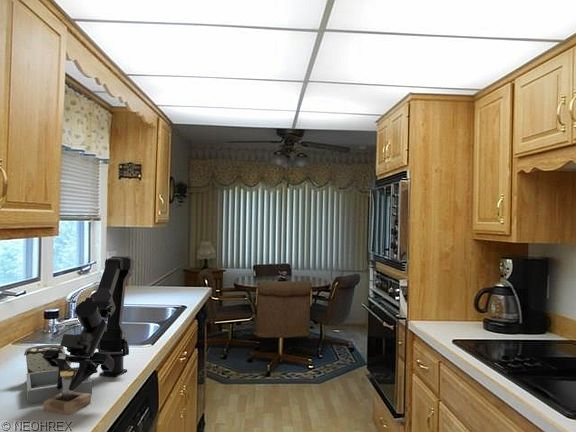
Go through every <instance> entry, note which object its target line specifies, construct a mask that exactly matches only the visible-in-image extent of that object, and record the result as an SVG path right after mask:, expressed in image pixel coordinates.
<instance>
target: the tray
mask: <svg viewBox="0 0 576 432" xmlns="http://www.w3.org/2000/svg"><path fill="white" fill-rule="evenodd" d="M72 368H74V369H76V373H77V371H78V369H79V366H75V367H72ZM58 374H59V369H58V370H50V371H42V372H35V373H27V372H26V387H25V388H26V400H27V405H30V404H31V405H32V404H37V403H44V401H46V400H48V399H50V398H52V397H54V396H56V395H58V394H60V393H62V388H61V389H60V390H58V389H57V385H52V386H45V387H38V388H34V387H36V386H40V385H45V384H46V385H47V384H53V383H54V384H55V383H57V382H58ZM74 377H75V376H74ZM74 392H80V393H88V394H91V395H92V394H93V380H92V378H91V376H90V377H88V378H87V379H86V380H84V381H83V382H82V383H81V384H80V385H79V386H78V387H76V388H75V389H74Z"/></svg>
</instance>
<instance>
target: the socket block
mask: <svg viewBox="0 0 576 432" xmlns="http://www.w3.org/2000/svg"><path fill="white" fill-rule="evenodd" d="M91 400H92V394H88V393H80V392H74V399H73V400H71V401H69V402H68V401H62V393H60V394H58V395H56V396H54V397H52V398H50V399H48V400H46V401H44V402H43V409H42V410H43V412H46V413H53V414H58V415H59V414H60V415H67V416H71V415H73V414H74V413H76V412H78V411H80V410H82V409H83V408H86V407H88V406H89V405H90V404H92V401H91Z"/></svg>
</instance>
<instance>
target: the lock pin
mask: <svg viewBox="0 0 576 432" xmlns="http://www.w3.org/2000/svg"><path fill="white" fill-rule="evenodd" d="M75 375H76V369H74V368H73V367H71V368H68V369H63V370H61V371H60V377H62V401H68V402H69V401H71V400H73V399H74V390H73V391H71V390H70V386H71V383H72V381H73V379H74V376H75Z"/></svg>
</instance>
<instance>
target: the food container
mask: <svg viewBox="0 0 576 432" xmlns="http://www.w3.org/2000/svg"><path fill="white" fill-rule="evenodd" d="M47 349H60V350H61V351H62V352H63V353H64V354H66V349H65V348H64V346H63V347H61V346H60V344H41V345H35V346H31V347H28V348H25V351H24V354H23V356H25V359H26V360H25V361H26V370H27V371H26V374H27V373H35V372H42V371H50V370H58V369H59V368H58V367H52V366H50V365H49V364H48V363H47V362H46V361H45V359H44V358H43V357H42V356H43V354H44V352H45V351H46V350H47Z"/></svg>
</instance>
